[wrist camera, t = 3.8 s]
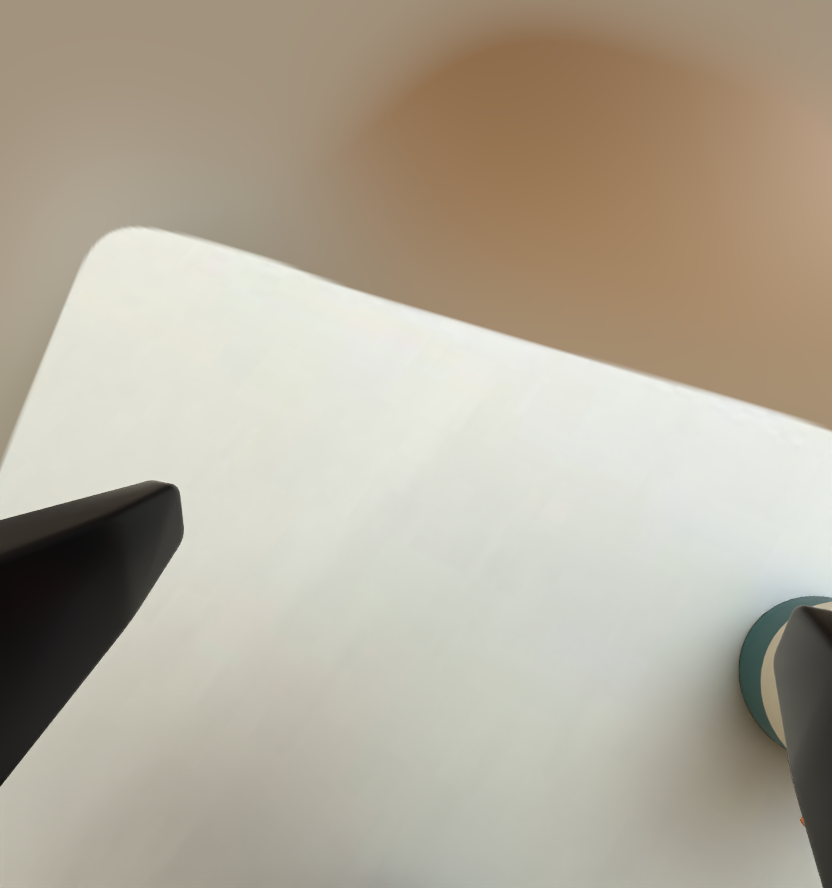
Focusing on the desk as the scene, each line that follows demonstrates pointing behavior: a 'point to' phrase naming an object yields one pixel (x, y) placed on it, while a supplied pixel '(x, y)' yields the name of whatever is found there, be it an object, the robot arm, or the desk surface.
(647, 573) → the desk surface
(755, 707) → the spray bottle
